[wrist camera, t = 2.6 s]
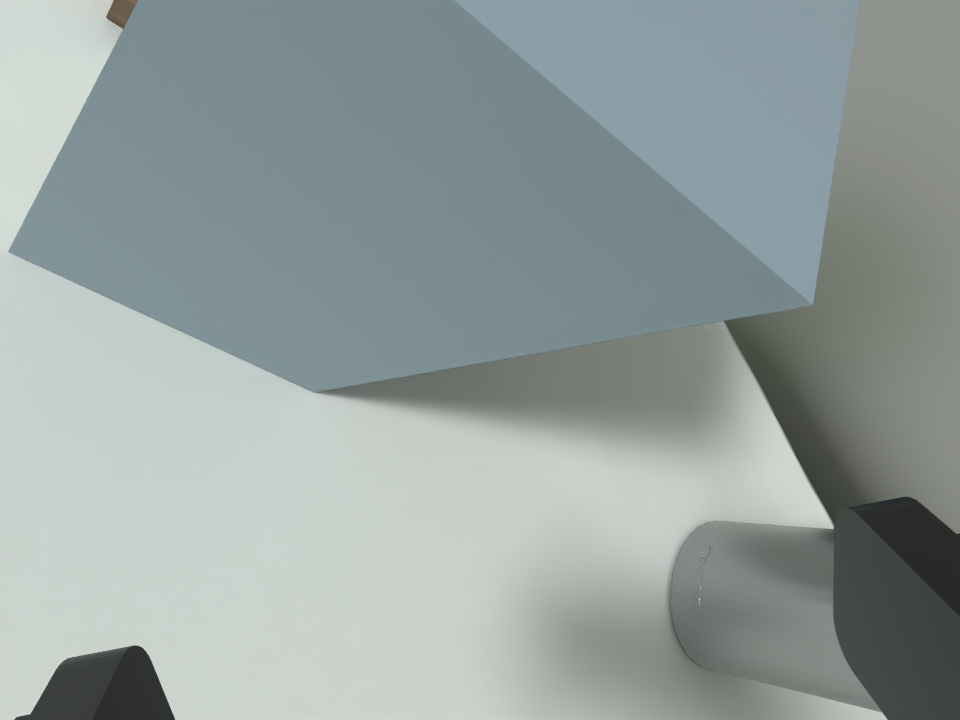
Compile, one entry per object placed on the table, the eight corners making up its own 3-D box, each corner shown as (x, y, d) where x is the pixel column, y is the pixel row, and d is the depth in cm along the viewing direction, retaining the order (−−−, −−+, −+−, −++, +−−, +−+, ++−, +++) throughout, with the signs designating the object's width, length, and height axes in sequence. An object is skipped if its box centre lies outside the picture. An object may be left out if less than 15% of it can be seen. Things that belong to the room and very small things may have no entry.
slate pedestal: (381, 215, 38) (865, -35, 19) (314, 392, 35) (812, 304, 16) (119, 51, 32) (460, -582, 12) (8, 251, 28) (234, -185, 9)
